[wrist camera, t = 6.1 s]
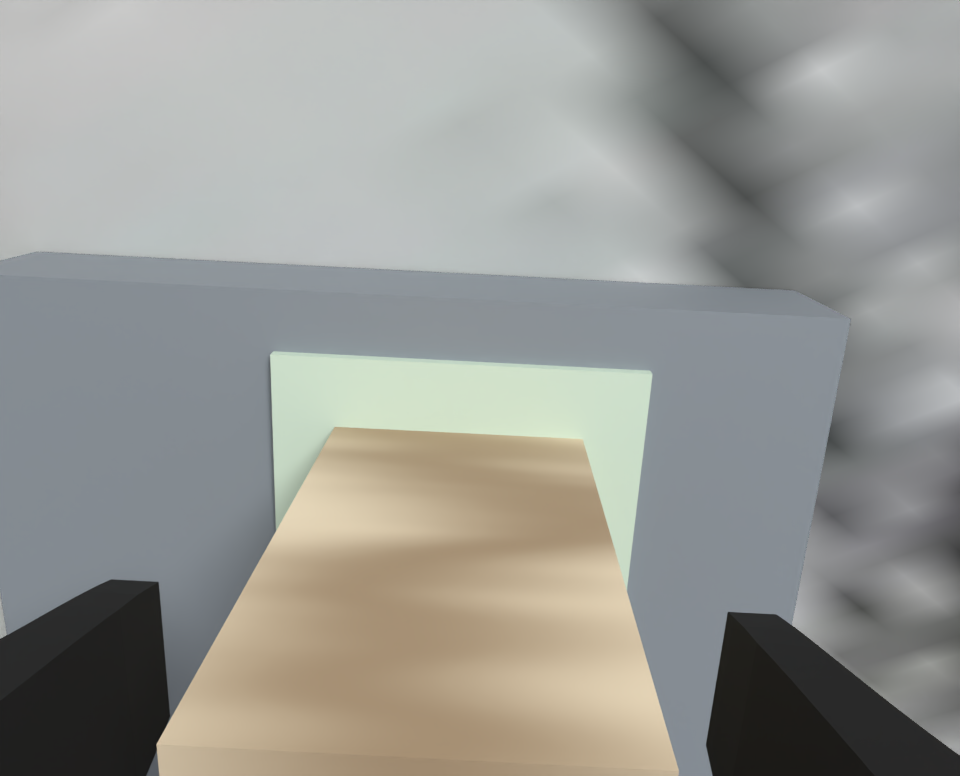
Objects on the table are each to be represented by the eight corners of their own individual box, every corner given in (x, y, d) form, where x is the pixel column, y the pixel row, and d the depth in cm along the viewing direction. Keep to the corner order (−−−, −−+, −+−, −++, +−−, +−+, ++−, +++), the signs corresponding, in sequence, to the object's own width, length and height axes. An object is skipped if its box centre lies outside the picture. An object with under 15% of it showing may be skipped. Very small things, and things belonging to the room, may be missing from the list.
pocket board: (794, 290, 15) (856, 321, 12) (685, 936, 19) (712, 1054, 17) (36, 251, 15) (-58, 274, 12) (115, 906, 19) (59, 1018, 17)
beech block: (582, 438, 13) (679, 770, 6) (563, 650, 14) (626, 1123, 7) (334, 426, 13) (156, 743, 6) (337, 639, 14) (190, 1100, 7)
